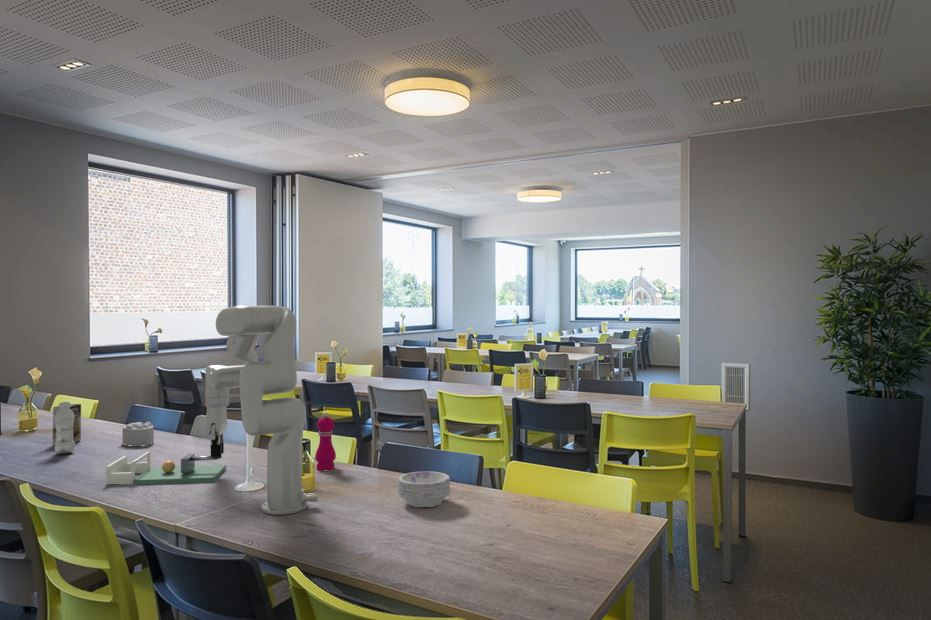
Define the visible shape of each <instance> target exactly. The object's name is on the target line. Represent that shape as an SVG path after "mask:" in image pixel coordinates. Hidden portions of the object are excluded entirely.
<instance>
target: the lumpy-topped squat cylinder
mask: <svg viewBox="0 0 931 620" xmlns="http://www.w3.org/2000/svg"><path fill="white" fill-rule="evenodd" d="M154 429H155V427H154V425H153V424H152V422H151V421H146V422H145V423H143V422H142V421H137V422H131V423H128V424H126V425H125V426H123V427H122V445H123V444H126V445H132V446H141V445H148V444H151V443H153V442H154V441H155V440H154V439H155V438H154V437H155V436H154V433H155V432H154V431H155V430H154ZM154 443H155V442H154ZM154 443H153V444H154ZM141 447H142V446H141Z"/></svg>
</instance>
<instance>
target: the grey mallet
mask: <svg viewBox="0 0 931 620" xmlns="http://www.w3.org/2000/svg"><path fill="white" fill-rule="evenodd" d="M216 438H217V440H218V437H216ZM220 444H221V456H213V457H211V455H204V456H202V455H200V456H198V455H197V456H196V454H195V453H187V454H185V455H184V456H183V457H181V458H180V466H181V473H189V472H190V471H192V470H193V469H194V468H195V466H196V465H195V463H196V462H195V461H197V462H198V461H218V460H219V459H222V455H223V454H222V437H220Z"/></svg>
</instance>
